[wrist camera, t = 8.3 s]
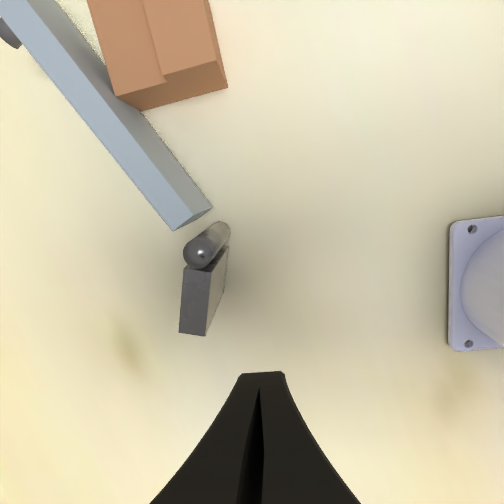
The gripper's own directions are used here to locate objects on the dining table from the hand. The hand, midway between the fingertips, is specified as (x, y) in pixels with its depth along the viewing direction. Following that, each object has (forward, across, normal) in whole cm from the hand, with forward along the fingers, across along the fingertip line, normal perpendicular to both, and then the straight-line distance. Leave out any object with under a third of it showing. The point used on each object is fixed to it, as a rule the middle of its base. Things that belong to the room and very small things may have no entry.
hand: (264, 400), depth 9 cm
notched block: (+10, +4, -14) cm, 17 cm away
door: (+9, +7, -11) cm, 16 cm away
